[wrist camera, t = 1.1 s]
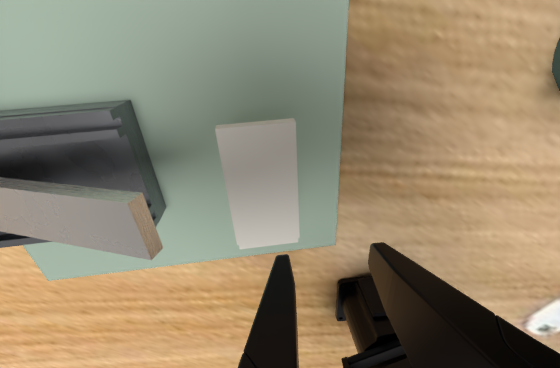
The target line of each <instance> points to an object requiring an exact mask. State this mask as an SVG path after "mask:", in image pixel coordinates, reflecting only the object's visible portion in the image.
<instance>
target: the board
mask: <svg viewBox="0 0 560 368" xmlns="http://www.w3.org/2000/svg"><path fill="white" fill-rule="evenodd" d="M348 9H349V0H0V110H12V109H24V108H36V107H48V106H60V105H72V104H84V103H96V102H108V101H119V100H131V102H132V105H133V108H134V111H135V114H136V117H137V120H138V123H139V126H140V129H141V132H142V135H143V138H144V141H145V144H146V147H147V150H148V153H149V156H150V159H151V162H152V165H153V168H154V171H155V174H156V177H157V180H158V183H159V186H160V189H161V192H162V195H163V198H164V201H165V204H166V209H165V211H164V213H163V215H162V217H161V219H160V221H159V223H158V224H157V226H156V230H157V232H158V235H159V238H160V240H161V243H162V246H163V249H162V250H161V251H160V252H159V253H158V254H157V255H156V256H155V257H154V258H153V259H152V260H147V259H141V258H136V257H131V256H126V255H121V254H115V253H110V252H105V251H100V250H95V249H89V248H84V247H79V246H74V245H69V244H63V243H58V242H45V243H36V244H28V245H23V247H24V248H25V249H26V251H27V252H28V253H29V255H30V256H31V258H32V259H33V260H34V262H35V263H36V264H37V266H38V267H39V269H40V270H41V271H42V273H43V274H44V275H45V277H46V278H47V280H48V281H51V280H59V279H67V278H75V277H83V276H91V275H99V274H107V273H115V272H123V271H131V270H139V269H147V268H155V267H163V266H171V265H179V264H187V263H195V262H203V261H211V260H219V259H227V258H235V257H243V256H251V255H259V254H267V253H275V252H283V251H291V250H299V249H307V248H315V247H323V246H331V245H336V227H337V209H338V191H339V172H340V154H341V136H342V118H343V100H344V81H345V63H346V45H347V27H348ZM289 118H294V119H295V121H296V142H297V172H298V201H299V231H300V238H298V242H296V243H288V244H280V245H272V246H264V247H256V248H248V249H239V245H237V243H236V237H235V232H234V227H233V222H232V216H231V211H230V206H229V201H228V195H227V190H226V185H225V180H224V174H223V169H222V164H221V159H220V153H219V148H218V143H217V138H216V132H215V127H216V125H224V124H234V123H245V122H256V121H267V120H278V119H289Z"/></svg>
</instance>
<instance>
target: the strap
mask: <svg viewBox="0 0 560 368" xmlns="http://www.w3.org/2000/svg"><path fill="white" fill-rule="evenodd" d="M0 231H1V232H6V233H12V234H17V235H22V236H27V237H32V238H37V239H43V240H48V241H53V242H58V243H63V244H69V245H74V246H79V247H84V248H89V249H95V250H100V251H105V252H110V253H115V254H121V255H126V256H131V257H136V258H141V259H147V260H152V259H153V258H154V257H155V256H156V255H157V254H158V253H159V252H160V251H161V250H162V249H163V246H162V243H161V240H160V238H159V235H158V232H157V230H156V227H155V225H154V222H153V219H152V217H151V214H150V211H149V209H148V206H147V203H146V201H145V198H144V195H143V193H142V192H132V191H123V190H114V189H104V188H95V187H86V186H77V185H67V184H58V183H49V182H40V181H30V180H21V179H12V178H2V177H0Z"/></svg>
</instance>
